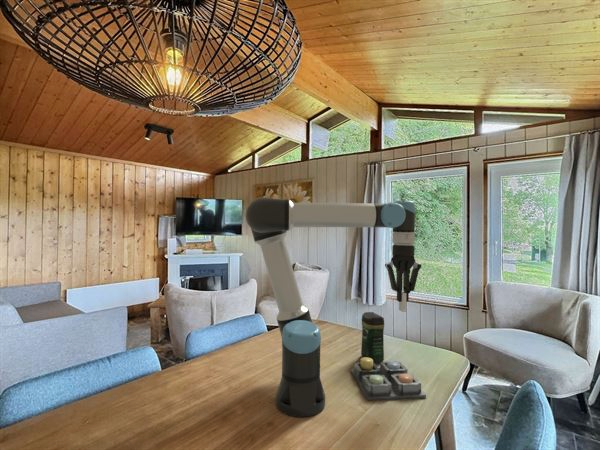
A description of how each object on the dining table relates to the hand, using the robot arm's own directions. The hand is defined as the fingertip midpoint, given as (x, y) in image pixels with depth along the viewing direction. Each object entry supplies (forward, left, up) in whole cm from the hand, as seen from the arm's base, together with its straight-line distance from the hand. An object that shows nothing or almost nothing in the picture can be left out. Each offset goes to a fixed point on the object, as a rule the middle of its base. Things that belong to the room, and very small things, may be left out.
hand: (402, 310), depth 113 cm
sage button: (-12, -8, -23) cm, 27 cm away
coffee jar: (-5, +18, -25) cm, 31 cm away
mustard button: (-12, +2, -21) cm, 24 cm away
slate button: (-2, +2, -23) cm, 23 cm away
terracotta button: (-2, -8, -23) cm, 24 cm away
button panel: (-7, -2, -24) cm, 26 cm away
